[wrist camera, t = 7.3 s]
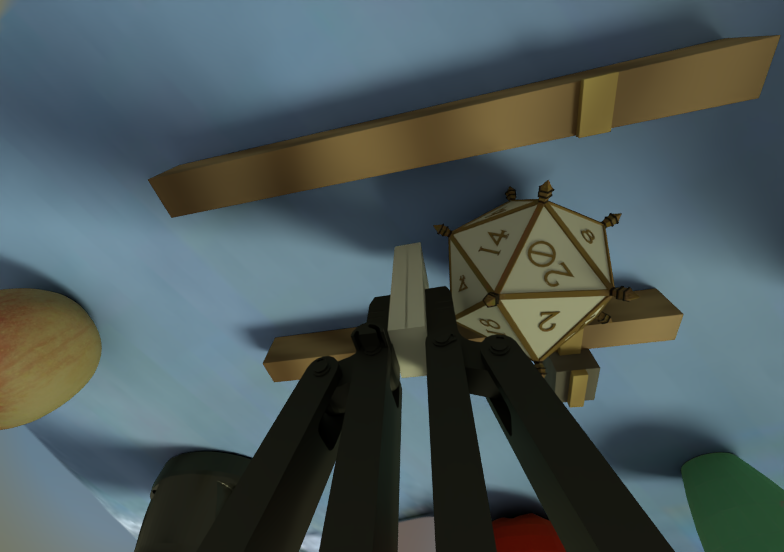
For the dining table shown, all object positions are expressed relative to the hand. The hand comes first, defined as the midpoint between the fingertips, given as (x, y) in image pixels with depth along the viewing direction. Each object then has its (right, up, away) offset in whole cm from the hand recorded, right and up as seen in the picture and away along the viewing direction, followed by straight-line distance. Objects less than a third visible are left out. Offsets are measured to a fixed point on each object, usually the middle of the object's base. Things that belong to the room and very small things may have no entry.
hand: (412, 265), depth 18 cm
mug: (+31, -20, +14) cm, 40 cm away
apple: (-26, -3, +7) cm, 27 cm away
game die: (+5, +2, +1) cm, 6 cm away
